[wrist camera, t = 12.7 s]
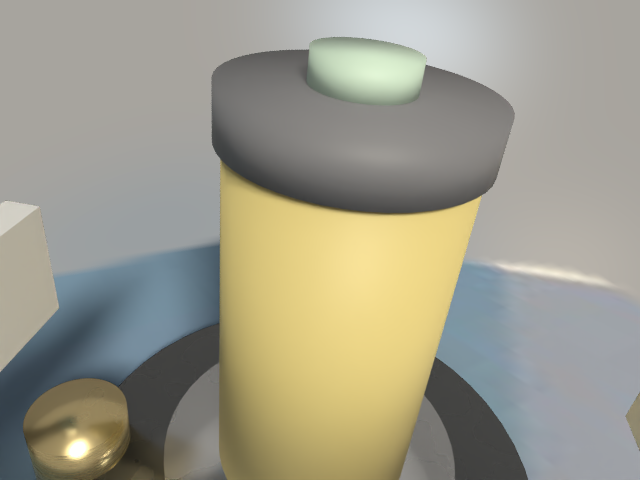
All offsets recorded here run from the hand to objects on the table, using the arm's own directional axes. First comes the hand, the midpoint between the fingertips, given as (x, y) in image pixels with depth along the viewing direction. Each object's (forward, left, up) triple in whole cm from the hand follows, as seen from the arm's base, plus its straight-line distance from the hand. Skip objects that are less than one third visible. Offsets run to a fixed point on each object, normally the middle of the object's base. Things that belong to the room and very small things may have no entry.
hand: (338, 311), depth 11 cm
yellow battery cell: (-1, +3, -9) cm, 9 cm away
